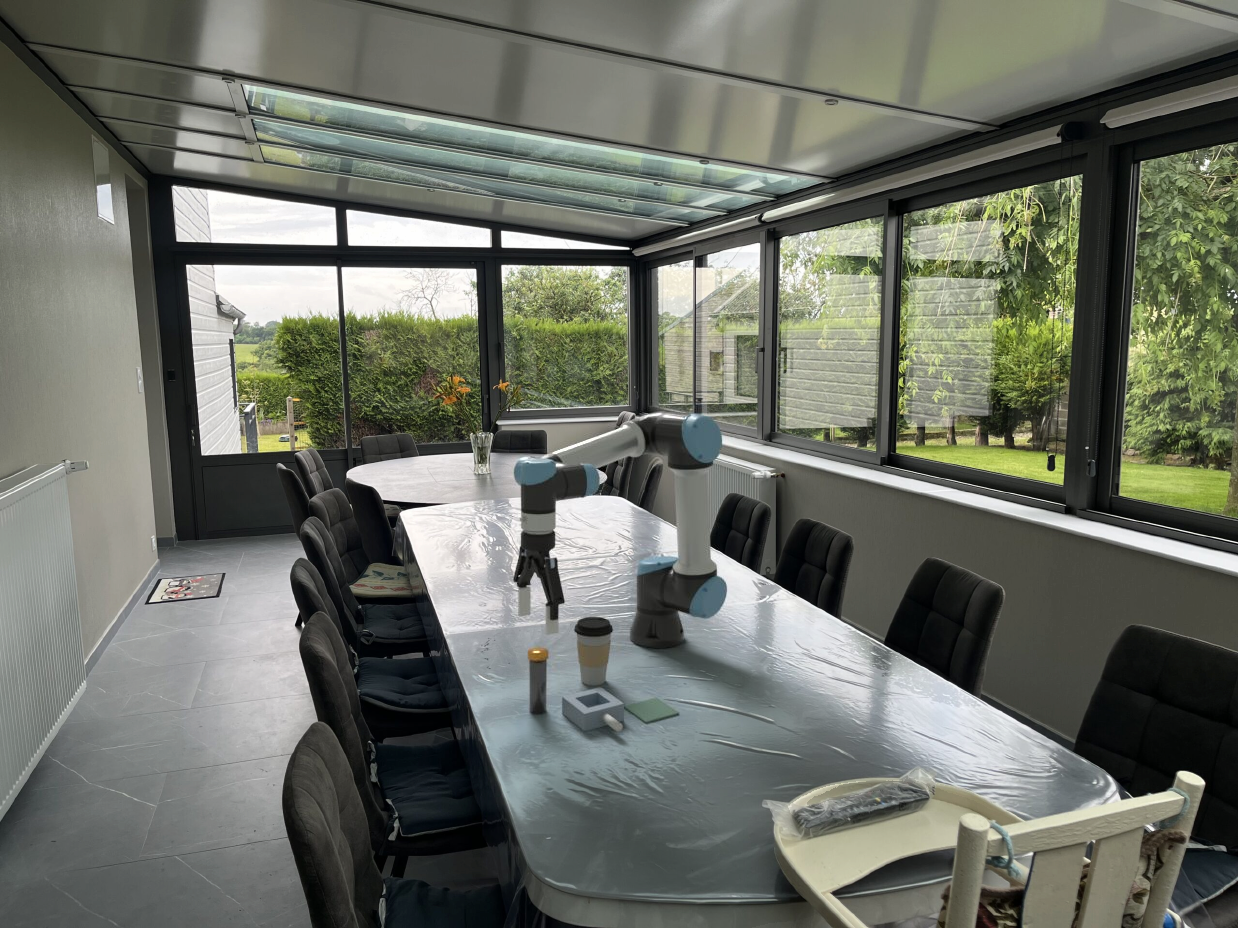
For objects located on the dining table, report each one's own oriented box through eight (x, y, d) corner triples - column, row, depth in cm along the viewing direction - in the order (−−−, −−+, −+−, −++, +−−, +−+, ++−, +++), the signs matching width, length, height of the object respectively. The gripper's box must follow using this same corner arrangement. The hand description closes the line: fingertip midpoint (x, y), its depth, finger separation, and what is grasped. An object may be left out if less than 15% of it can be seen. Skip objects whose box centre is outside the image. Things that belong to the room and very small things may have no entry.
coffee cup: (616, 675, 208) (617, 617, 205) (605, 690, 199) (606, 630, 196) (580, 671, 210) (581, 613, 208) (568, 685, 201) (568, 626, 199)
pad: (623, 707, 190) (623, 705, 190) (656, 699, 195) (656, 697, 195) (645, 723, 182) (645, 721, 182) (679, 713, 187) (679, 712, 187)
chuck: (562, 713, 187) (562, 696, 186) (600, 703, 192) (600, 686, 191) (598, 743, 173) (598, 724, 173) (638, 731, 178) (639, 714, 178)
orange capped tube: (524, 708, 189) (524, 649, 186) (542, 704, 191) (542, 645, 189) (533, 716, 185) (533, 656, 183) (551, 712, 187) (551, 652, 185)
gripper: (498, 520, 190) (499, 610, 193) (549, 544, 169) (548, 644, 172) (528, 517, 194) (528, 605, 197) (581, 540, 173) (580, 638, 176)
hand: (537, 624), depth 185 cm, fingers open, 13 cm apart
